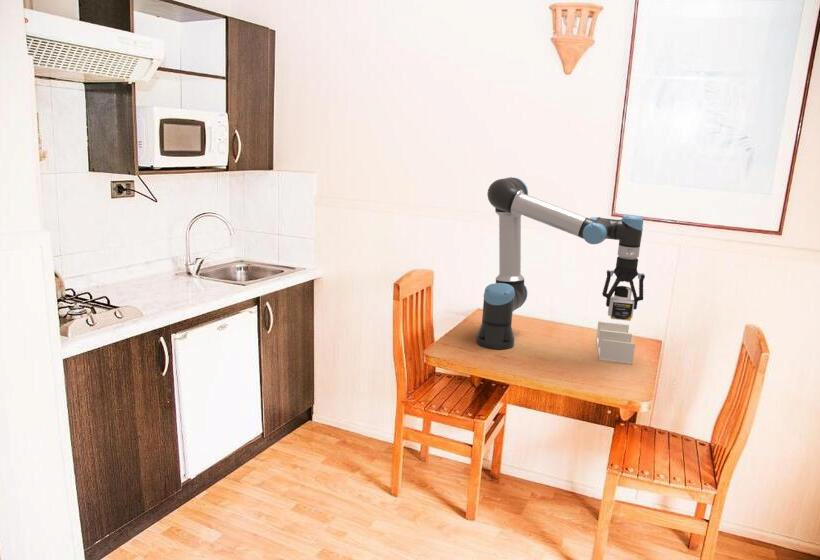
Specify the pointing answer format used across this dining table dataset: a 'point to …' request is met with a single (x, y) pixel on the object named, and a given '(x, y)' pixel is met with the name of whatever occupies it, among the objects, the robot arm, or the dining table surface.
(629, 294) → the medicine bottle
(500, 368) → the dining table surface
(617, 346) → the rack
